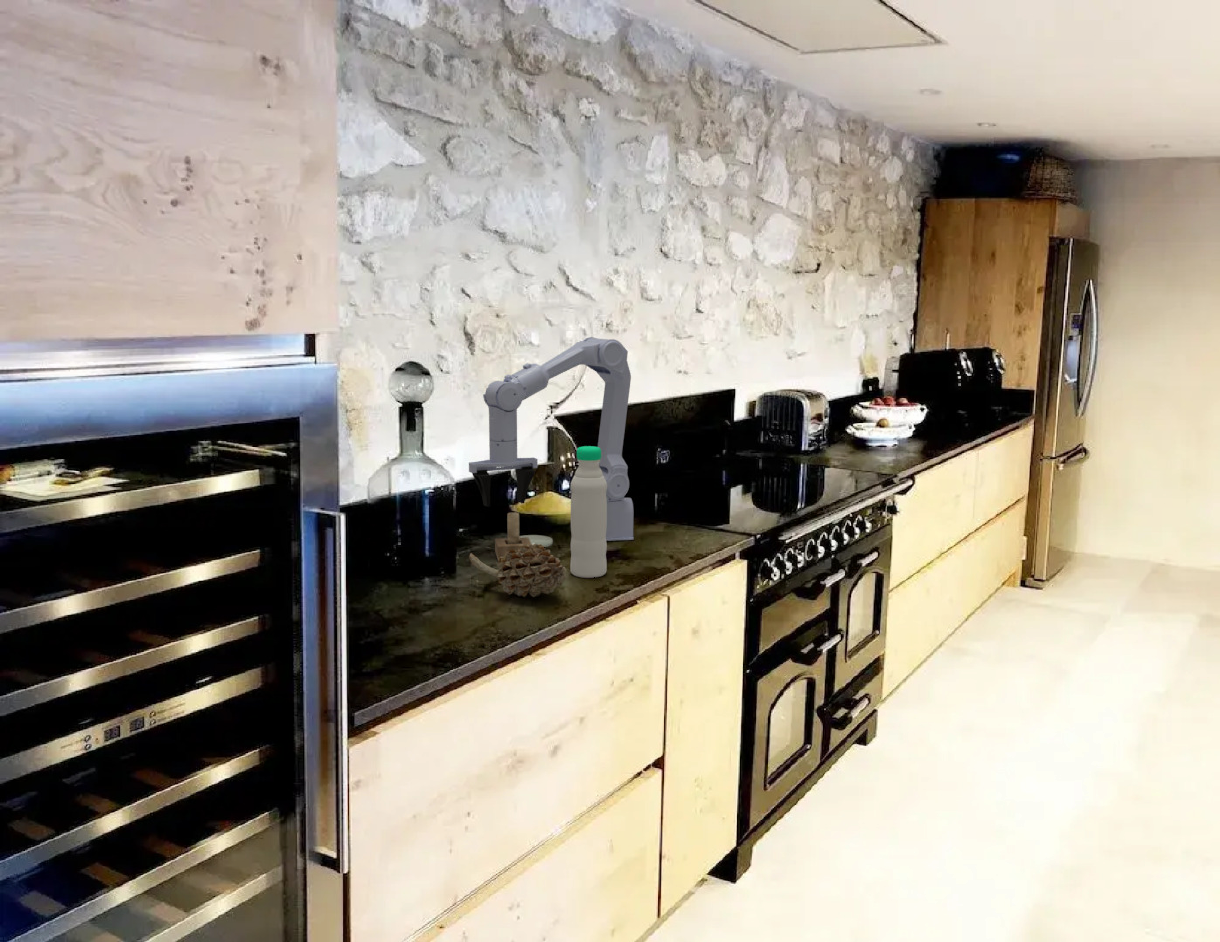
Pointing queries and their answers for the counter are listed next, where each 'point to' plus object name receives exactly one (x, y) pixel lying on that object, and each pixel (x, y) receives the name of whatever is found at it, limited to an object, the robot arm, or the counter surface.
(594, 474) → the water bottle
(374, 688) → the counter surface
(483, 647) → the counter surface
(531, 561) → the pine cone
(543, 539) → the coaster
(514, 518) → the pin
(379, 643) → the counter surface
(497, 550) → the holder
